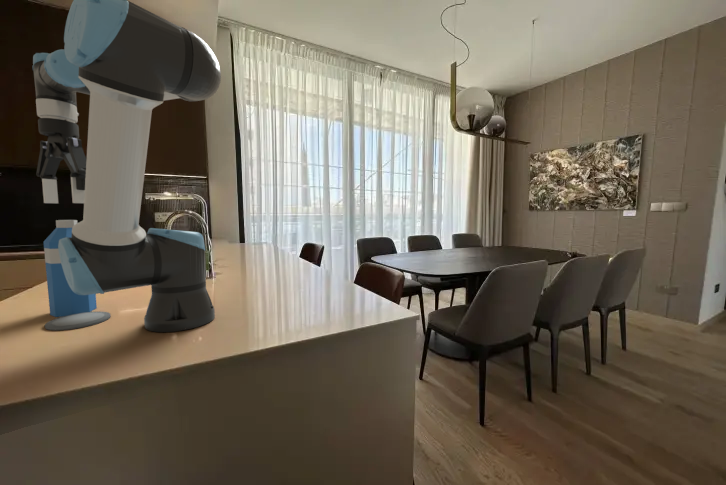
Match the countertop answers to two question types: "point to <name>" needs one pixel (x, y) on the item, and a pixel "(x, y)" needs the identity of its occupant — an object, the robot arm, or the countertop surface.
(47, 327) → the coaster
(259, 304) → the countertop surface
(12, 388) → the countertop surface
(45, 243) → the water bottle
